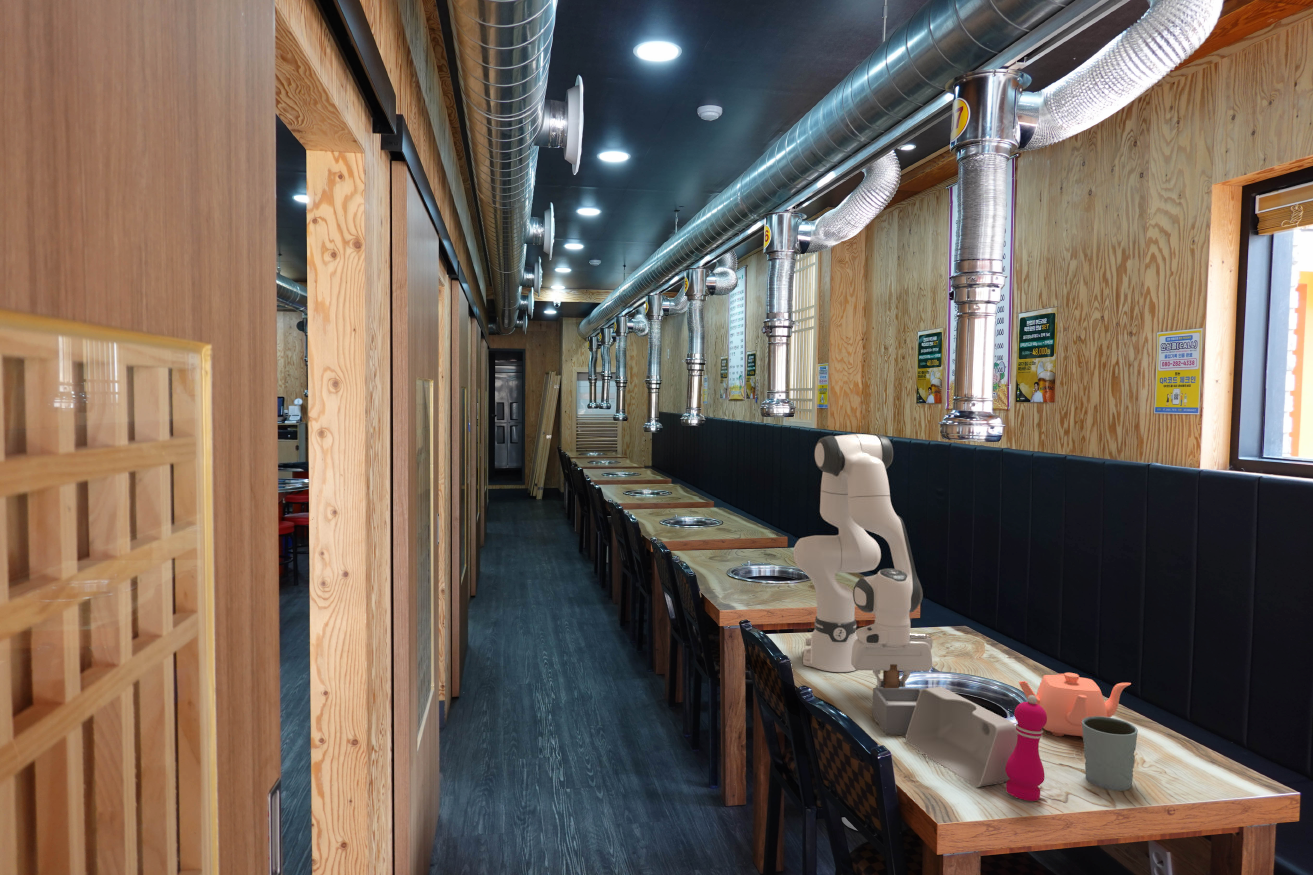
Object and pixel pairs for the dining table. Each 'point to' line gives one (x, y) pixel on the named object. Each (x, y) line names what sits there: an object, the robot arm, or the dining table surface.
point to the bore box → (894, 708)
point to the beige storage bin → (962, 736)
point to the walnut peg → (891, 677)
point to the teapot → (1072, 701)
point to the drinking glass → (1109, 752)
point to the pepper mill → (1027, 752)
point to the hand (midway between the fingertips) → (890, 686)
